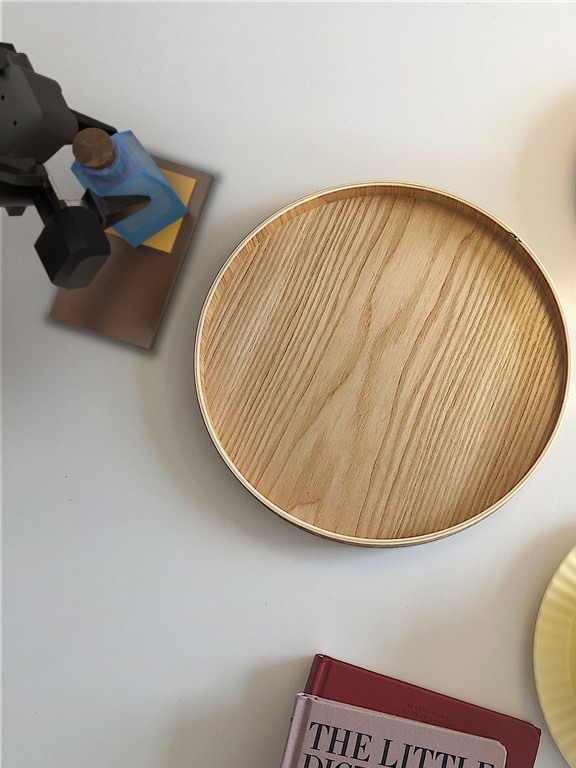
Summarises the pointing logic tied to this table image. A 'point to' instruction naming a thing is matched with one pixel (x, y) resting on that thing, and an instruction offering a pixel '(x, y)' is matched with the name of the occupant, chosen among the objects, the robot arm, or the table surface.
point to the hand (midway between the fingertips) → (132, 167)
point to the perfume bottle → (126, 180)
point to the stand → (138, 271)
